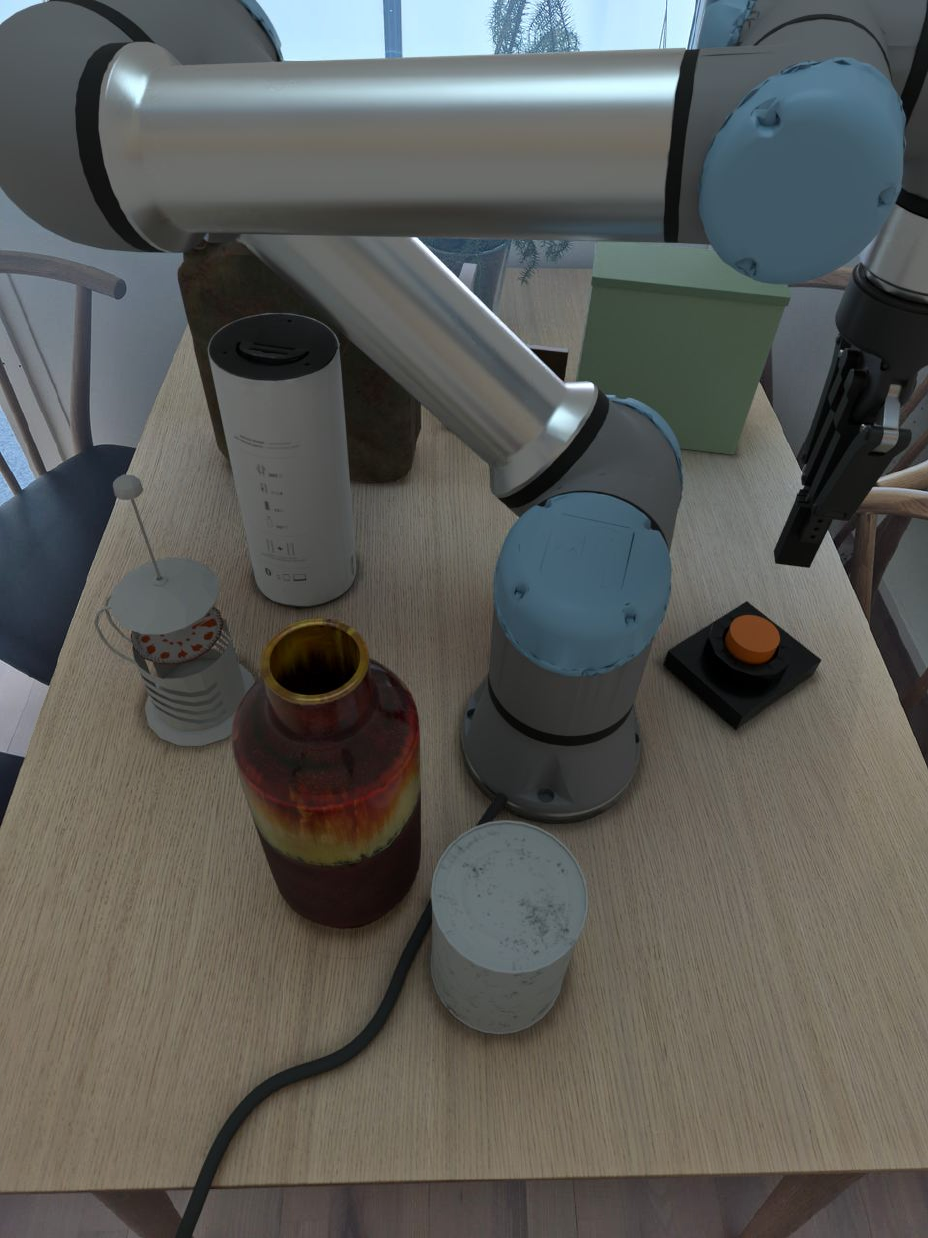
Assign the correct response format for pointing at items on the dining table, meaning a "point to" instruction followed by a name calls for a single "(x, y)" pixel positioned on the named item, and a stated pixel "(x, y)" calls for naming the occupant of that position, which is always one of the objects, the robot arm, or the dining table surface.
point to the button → (752, 639)
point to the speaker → (288, 453)
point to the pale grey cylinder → (504, 924)
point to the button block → (738, 670)
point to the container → (245, 286)
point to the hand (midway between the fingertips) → (791, 559)
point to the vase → (332, 774)
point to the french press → (178, 642)
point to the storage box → (679, 337)
